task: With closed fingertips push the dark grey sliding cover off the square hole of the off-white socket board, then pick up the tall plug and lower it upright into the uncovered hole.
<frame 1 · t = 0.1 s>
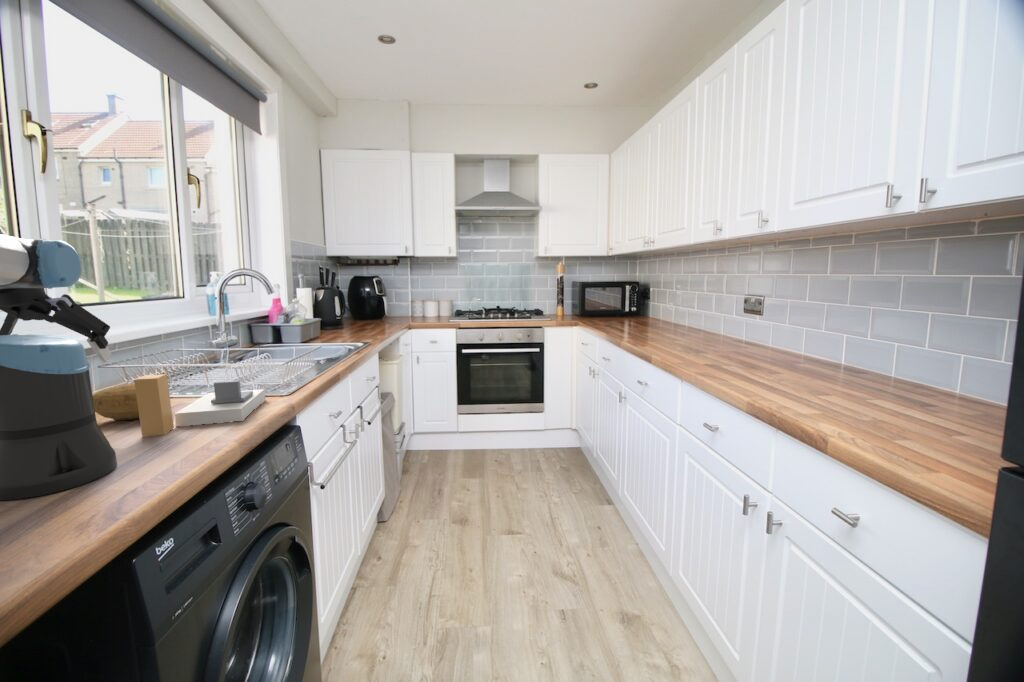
hand: (69, 359, 96), 15 cm above the worktop, tool tilted 35°, fingers open, 13 cm apart
socket board: (225, 412, 108), on the worktop
plug: (158, 432, 94), on the worktop
potato: (133, 419, 104), on the worktop
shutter: (231, 389, 108), point 6 cm above the worktop, slide at 0.0 cm
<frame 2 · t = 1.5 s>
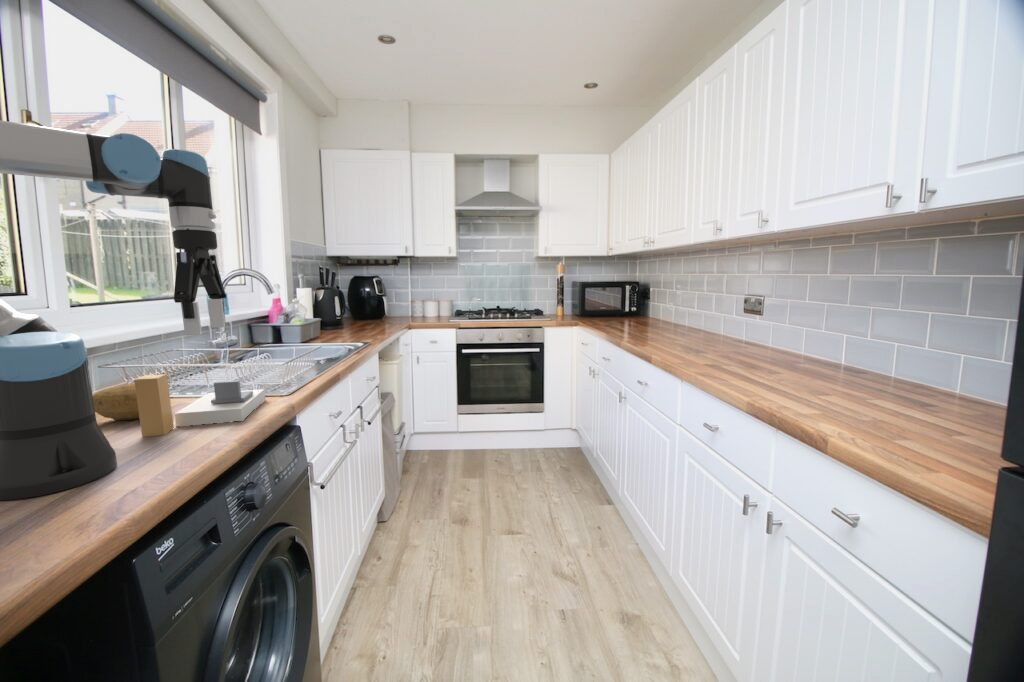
hand: (206, 330, 97), 21 cm above the worktop, tool pointing down, fingers open, 13 cm apart
nothing on the worktop moved.
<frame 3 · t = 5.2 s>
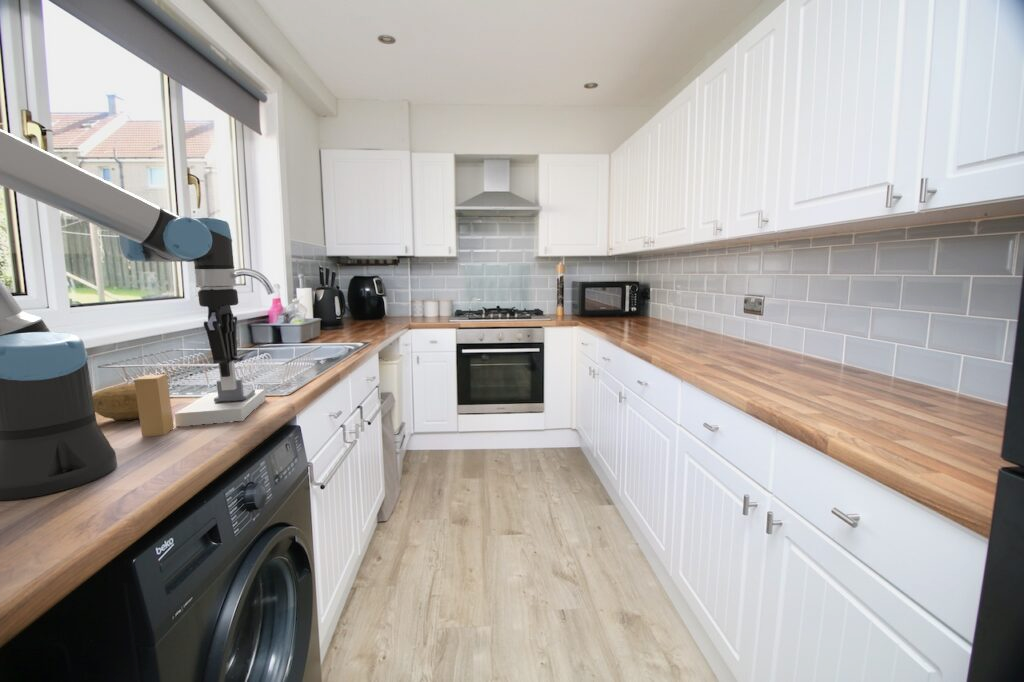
hand: (229, 389, 105), 6 cm above the worktop, tool pointing down, fingers closed
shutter: (234, 387, 109), point 6 cm above the worktop, slide at 1.7 cm, touching gripper
everything else where it was.
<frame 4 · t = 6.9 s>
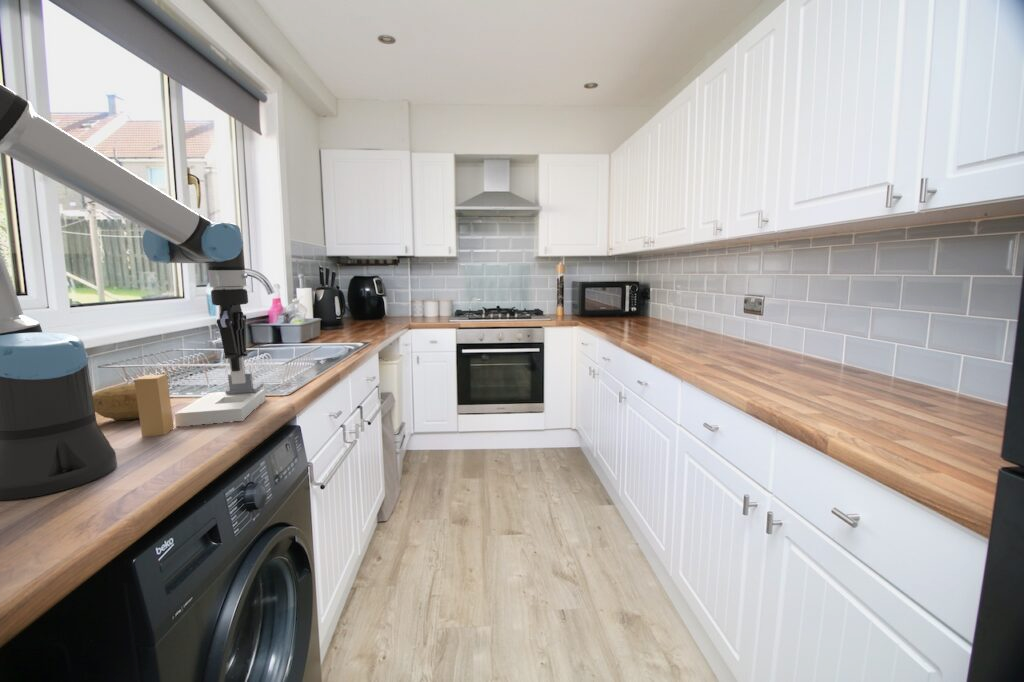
hand: (239, 382, 112), 6 cm above the worktop, tool pointing down, fingers closed
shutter: (244, 380, 116), point 6 cm above the worktop, slide at 8.9 cm, touching gripper
everything else where it was.
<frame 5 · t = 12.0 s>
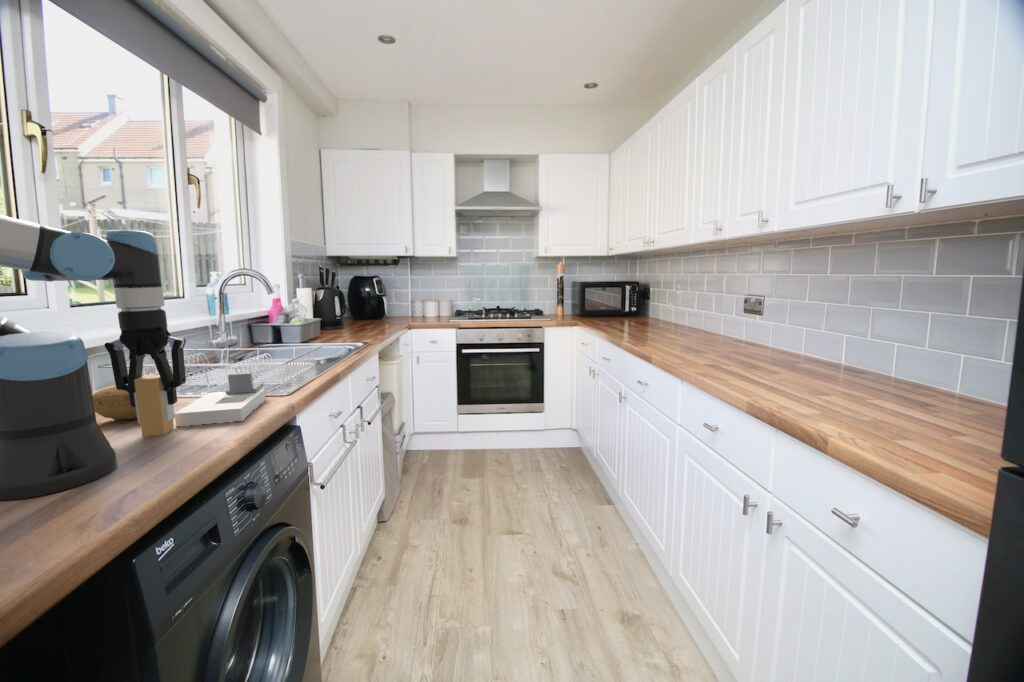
hand: (156, 420, 94), 3 cm above the worktop, tool pointing down, fingers closed on plug, 4 cm apart
plug: (158, 432, 94), on the worktop, touching gripper
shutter: (244, 380, 116), point 6 cm above the worktop, slide at 8.9 cm
everything else where it was.
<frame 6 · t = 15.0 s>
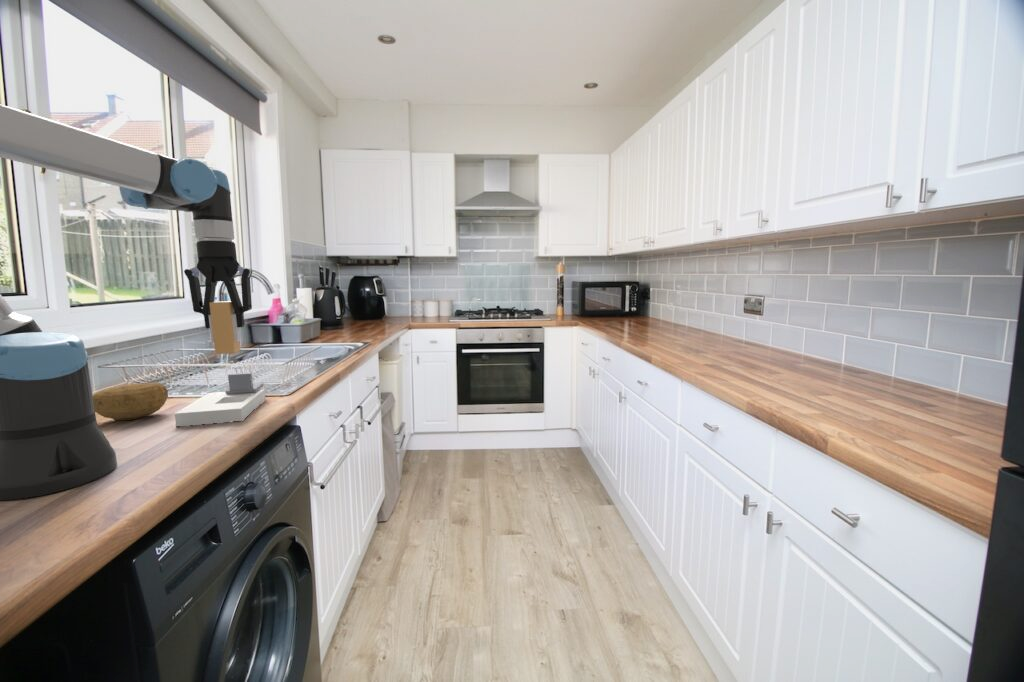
hand: (226, 341, 106), 17 cm above the worktop, tool pointing down, fingers closed on plug, 4 cm apart
plug: (228, 352, 106), point 15 cm above the worktop, touching gripper
everything else where it was.
when the fingers open (4 cm above the worktop, at t = 18.0 s): plug drops 2 cm, resting in socket board.
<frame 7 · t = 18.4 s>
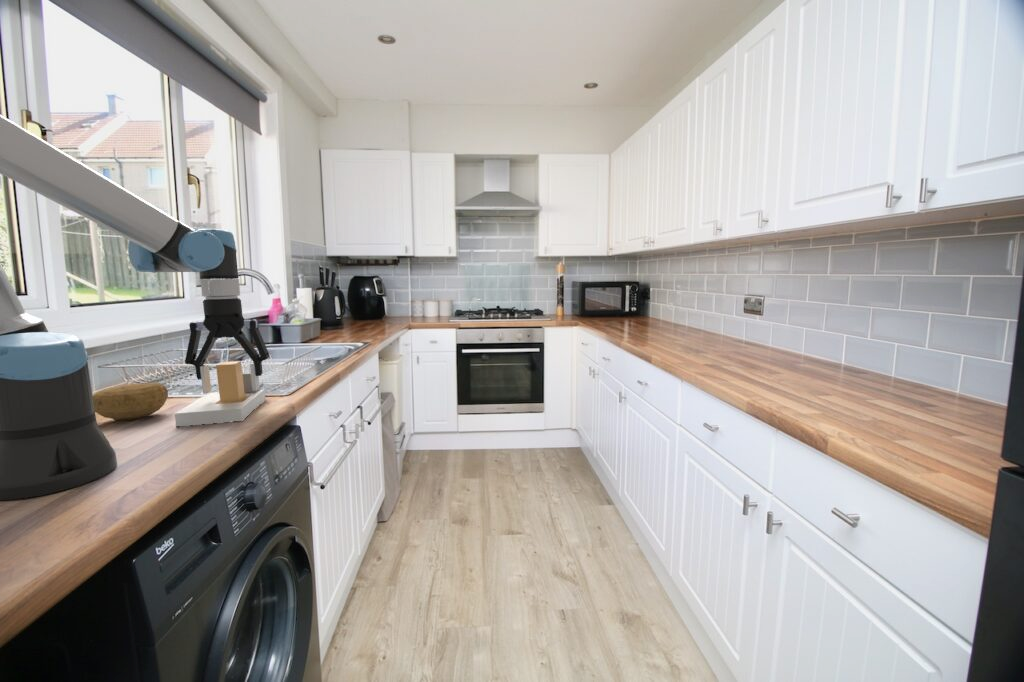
hand: (232, 390, 108), 5 cm above the worktop, tool pointing down, fingers open, 10 cm apart
plug: (234, 411, 108), resting in socket board
everything else where it was.
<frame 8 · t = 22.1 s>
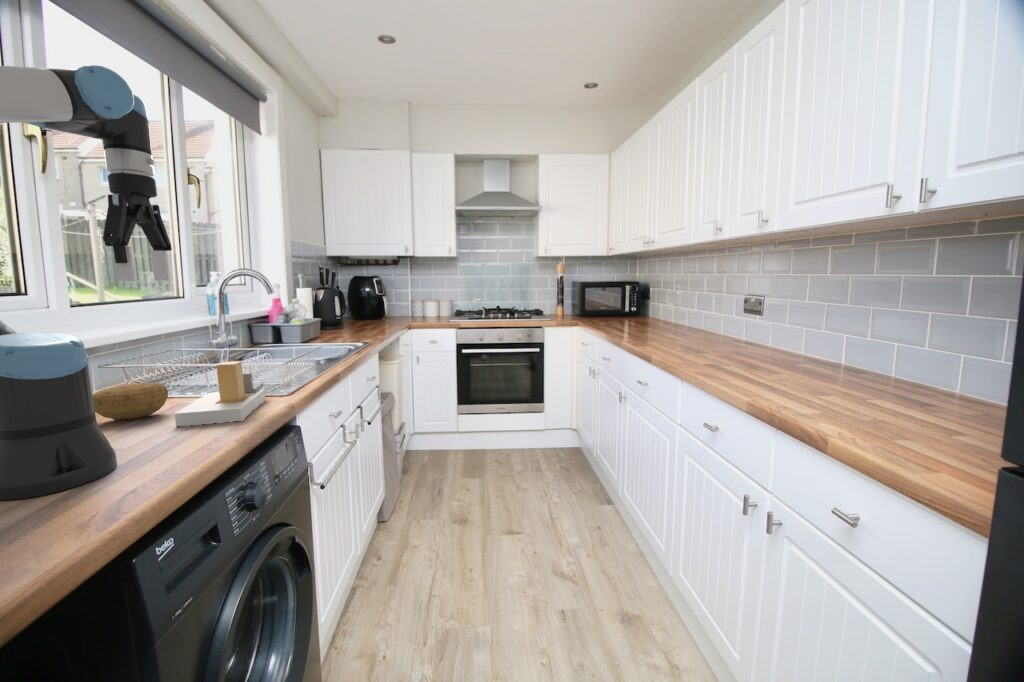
hand: (145, 280, 94), 32 cm above the worktop, tool pointing down, fingers open, 13 cm apart
nothing on the worktop moved.
at the end: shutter slide at 8.9 cm; plug 0.0 cm from the target spot in the socket board, point 0.0 cm above the socket board's base; plug tilted 0° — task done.
